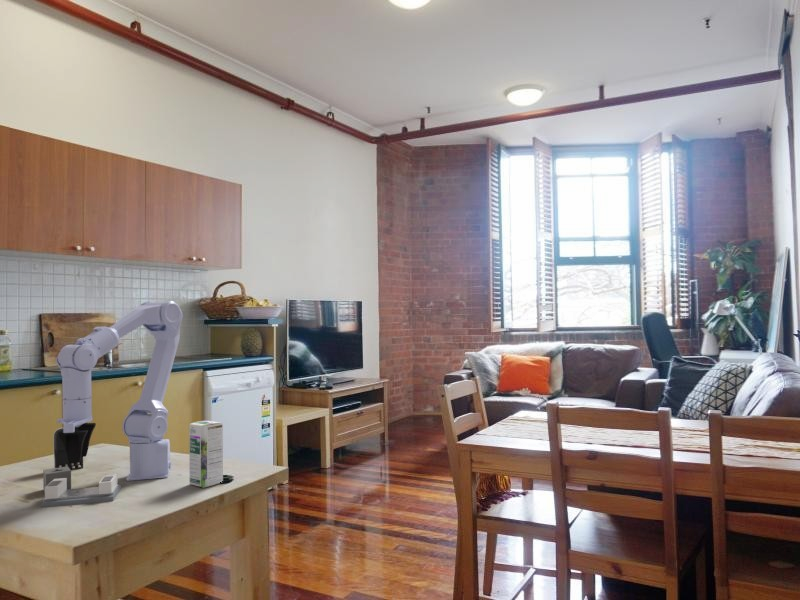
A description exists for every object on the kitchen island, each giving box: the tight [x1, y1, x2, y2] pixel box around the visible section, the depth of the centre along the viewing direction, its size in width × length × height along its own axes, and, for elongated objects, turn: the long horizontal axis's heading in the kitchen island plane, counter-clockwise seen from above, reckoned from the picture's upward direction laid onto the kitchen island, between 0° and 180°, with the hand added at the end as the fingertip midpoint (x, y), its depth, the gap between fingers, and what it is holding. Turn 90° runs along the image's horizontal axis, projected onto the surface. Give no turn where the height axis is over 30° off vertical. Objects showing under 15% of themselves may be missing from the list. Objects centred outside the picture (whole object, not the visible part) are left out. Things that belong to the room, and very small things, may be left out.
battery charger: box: [52, 427, 84, 471], centre depth 157 cm, size 7×4×11 cm, turn 131°
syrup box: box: [188, 420, 224, 489], centre depth 143 cm, size 6×6×14 cm
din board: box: [40, 484, 122, 508], centre depth 133 cm, size 14×9×2 cm, turn 105°
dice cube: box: [42, 466, 72, 493], centre depth 139 cm, size 5×5×5 cm
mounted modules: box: [44, 473, 119, 499], centre depth 133 cm, size 13×7×3 cm, turn 105°
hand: (77, 459), depth 134 cm, fingers open, 5 cm apart
